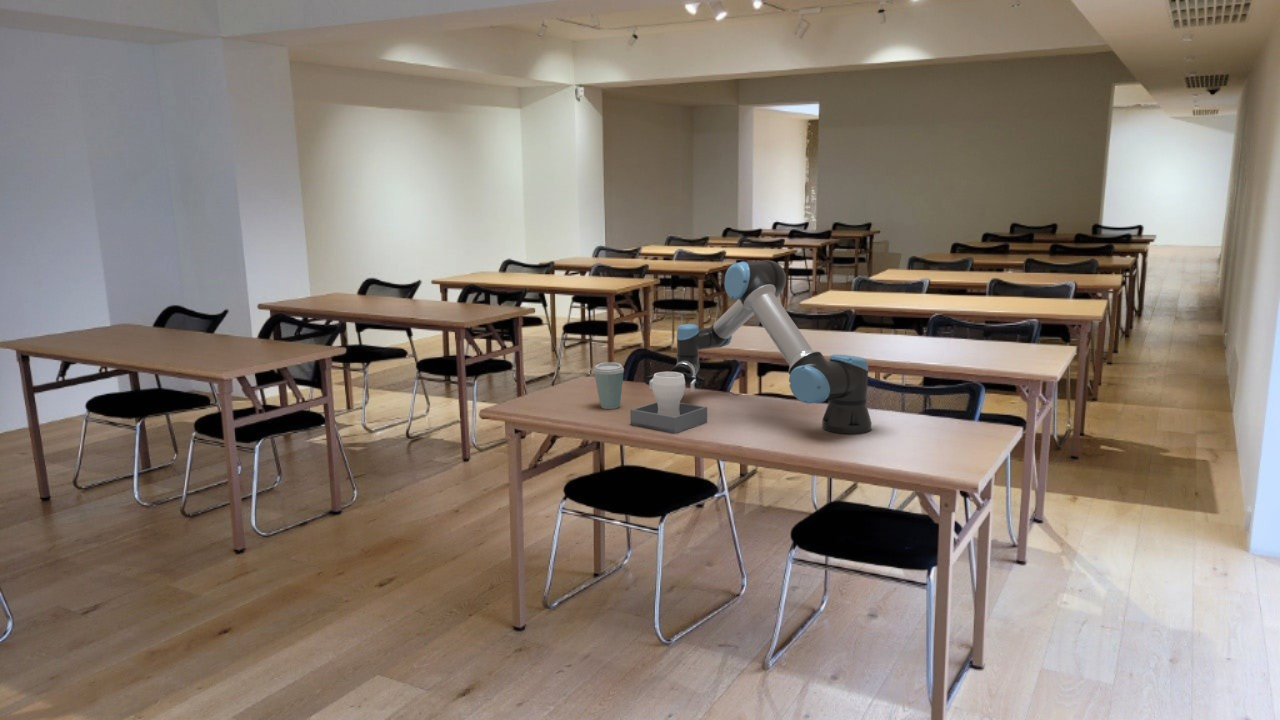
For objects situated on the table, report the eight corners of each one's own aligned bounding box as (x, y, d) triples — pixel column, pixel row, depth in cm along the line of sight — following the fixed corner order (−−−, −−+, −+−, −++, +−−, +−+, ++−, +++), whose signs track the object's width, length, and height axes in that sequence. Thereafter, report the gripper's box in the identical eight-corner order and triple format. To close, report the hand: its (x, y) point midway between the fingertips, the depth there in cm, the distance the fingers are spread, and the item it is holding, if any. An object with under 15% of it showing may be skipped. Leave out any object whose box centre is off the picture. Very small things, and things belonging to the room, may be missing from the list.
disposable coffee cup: (624, 410, 312) (623, 367, 310) (592, 410, 313) (591, 367, 310) (625, 403, 323) (624, 361, 320) (594, 403, 323) (594, 361, 320)
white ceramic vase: (685, 424, 290) (686, 378, 287) (652, 424, 290) (652, 378, 287) (684, 416, 300) (684, 371, 298) (651, 416, 300) (651, 371, 298)
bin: (707, 422, 297) (707, 407, 296) (674, 433, 283) (675, 417, 282) (663, 414, 307) (663, 399, 306) (630, 424, 294) (630, 409, 293)
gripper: (718, 385, 316) (708, 399, 296) (647, 382, 322) (633, 396, 301) (718, 364, 315) (709, 376, 294) (647, 361, 320) (633, 373, 300)
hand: (670, 386), depth 298 cm, fingers open, 13 cm apart
